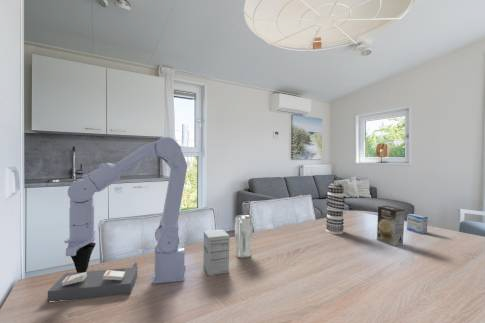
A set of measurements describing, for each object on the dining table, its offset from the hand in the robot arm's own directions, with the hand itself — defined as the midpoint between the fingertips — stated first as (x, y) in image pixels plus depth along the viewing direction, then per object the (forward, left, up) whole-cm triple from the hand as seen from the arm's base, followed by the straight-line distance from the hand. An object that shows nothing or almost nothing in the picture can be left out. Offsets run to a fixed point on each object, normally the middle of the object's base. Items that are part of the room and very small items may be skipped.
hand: (82, 271), depth 68 cm
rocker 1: (+2, 0, -2) cm, 3 cm away
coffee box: (-120, -18, -6) cm, 122 cm away
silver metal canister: (-50, -17, -6) cm, 53 cm away
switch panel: (-3, -6, -6) cm, 9 cm away
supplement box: (-38, -7, -6) cm, 39 cm away
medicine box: (-148, -29, -6) cm, 151 cm away
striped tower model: (-104, -37, -6) cm, 111 cm away
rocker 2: (-8, 0, -2) cm, 8 cm away
